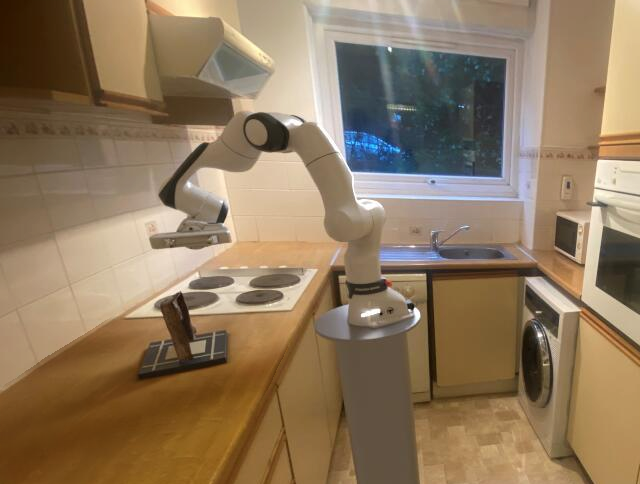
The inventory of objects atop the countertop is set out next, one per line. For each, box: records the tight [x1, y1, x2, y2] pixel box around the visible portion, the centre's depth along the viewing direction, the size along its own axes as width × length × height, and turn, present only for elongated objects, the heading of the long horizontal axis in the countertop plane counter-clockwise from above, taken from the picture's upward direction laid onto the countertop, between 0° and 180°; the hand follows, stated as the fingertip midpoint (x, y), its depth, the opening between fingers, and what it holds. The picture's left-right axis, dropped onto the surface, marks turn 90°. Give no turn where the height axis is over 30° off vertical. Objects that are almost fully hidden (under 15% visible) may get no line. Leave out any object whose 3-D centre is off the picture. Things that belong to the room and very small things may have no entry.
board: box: [137, 329, 229, 380], centre depth 116 cm, size 18×20×2 cm
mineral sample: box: [159, 290, 197, 361], centre depth 113 cm, size 17×4×15 cm, turn 30°
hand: (190, 243), depth 127 cm, fingers open, 8 cm apart
